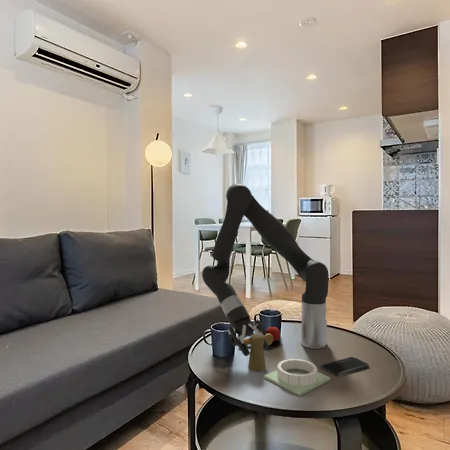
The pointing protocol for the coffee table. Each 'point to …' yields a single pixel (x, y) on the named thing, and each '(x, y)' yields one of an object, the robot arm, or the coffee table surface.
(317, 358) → the coffee table surface
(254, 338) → the cork
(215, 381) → the coffee table surface
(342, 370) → the phone
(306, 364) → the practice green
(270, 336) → the kendama
